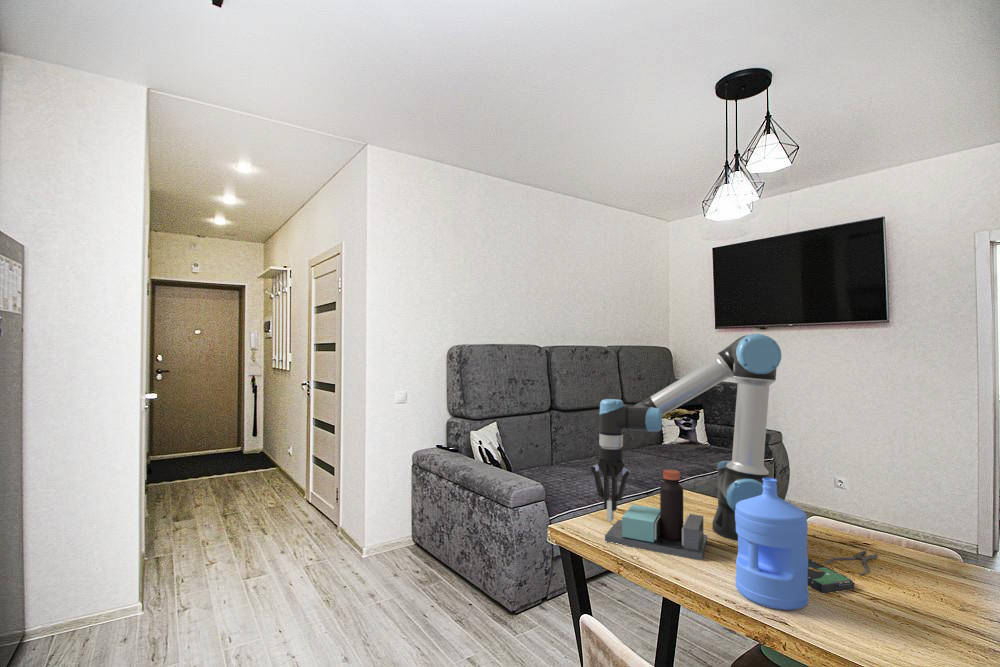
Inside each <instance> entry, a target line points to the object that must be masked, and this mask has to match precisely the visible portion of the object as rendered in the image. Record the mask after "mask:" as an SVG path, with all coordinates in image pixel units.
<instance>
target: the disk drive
mask: <svg viewBox="0 0 1000 667" xmlns="http://www.w3.org/2000/svg"><path fill="white" fill-rule="evenodd" d="M807 570H808V587H809V586H810V588H811V589H813V590H814V589H815V591H816V592H818V591H819V593H820V592H821V593H820V594H822V593H826V594H831V593H830V592H833V593H837V592H836V591H839V592H844V591H843V590H846V591H850V590H849V589H852V590H855V582H854V581H853V580H852V579H851V578H850V577H848V576H847V575H844V574H842V573H839V572H837V571H835V570H833V569H831V568H829V567H827V566H824V565H823V564H820V563H818V562H816V561H814V560H813V559H810V558H808V569H807Z"/></svg>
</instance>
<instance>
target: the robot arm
mask: <svg viewBox="0 0 1000 667" xmlns="http://www.w3.org/2000/svg"><path fill="white" fill-rule="evenodd" d="M781 361H782V350H781V347H780V346H779V344H778V342H777V341H776V340H775V339H774V338H772V337H770V336H768V335H765V334H760V333H751V334H748V335H743V336H741V337H738V338H736V339H735V340H734V341H733V342H732V343H730V344H729V345H728V346H727V347H725V348H724V349H723V350H721V351H719V352H718V353H716V354H715V358H713V359H712V360H710V361H709V362H706V363H705V364H703V365H702V366H700V367H698V368H696V369H695V370H693V371H692V372H690V373H688V374H686V375H685V376H683V377H681V378H680V379H677V380H676V381H674V382H672V383H671V384H669V385H668V386H666V387H665V388H663V389H661V390H659V391H658V392H656V393H655V394H652V395H651V396H650V397H648V398H646V399H644V400H643V401H640V402H637V403H635V405H634V406H626V405H625V404H624V401H623V400H622V399H616V398H606V399H605V398H604V399H602V400H601V401H600V403H599V414H598V415H599V437H598V438H599V441H598V442H599V444H598V445H599V447H598V451H599V452H598V455H599V456H598V462H597V464H595V465H592V466H591V467H590V470H591V472H592V473H593V474H592V475H593V477H594V481H595V486H596V491H597V496H598V497H599V498H602V499H603V509H604V510H606V521H607V522H613V520H614V519H615V518H614V513H615V512H616V510H617V509H618V508H617V507H618V506H617V505H618V501H621V500H622V499H623V497H624V494H625V490H626V486H627V481H628V479H629V478H628V477H629V476H630V474H632V470H630V469H628V468H627V467H625V463H624V461H623V458H624V457H623V456H624V449H623V448H622V447H624V446H623V445H624V433H623V432H624V430H627V431H628V430H629V431H640V432H642V431H643V432H650V433H651V432H660V431H661V430H662V423H663V420H662V418H663V416H665V415H666V414H668V413H670V412H672V411H674V410H675V409H677V408H679V407H680V406H683V405H684V404H685V403H687V402H689V401H691V400H692V399H694V398H696V397H698V396H699V395H701V394H703V393H704V392H707V391H708V390H710V389H712V388H714V387H715V386H718V384H721V383H722V382H724V381H725V380H727V379H730V378H731V379H734V380H735V381H736V383H737V385H736V386H737V389H736V402H735V416H734V427H733V428H734V430H733V441H732V442H733V443H732V453H731V454H732V456H731V460H721V461H719V462H717V463H718V464H717V469H716V472H717V508H716V511H715V513H714V516H713V519H712V522H711V523H712V526H711V527H712V531H713V532H714V533H715V534H717V535H718V536H721V537H724V538H727V539H731V540H736V541H738V534H737V533H736V522H735V510H736V504H737V503H738V502H739V501H742V500H745V499H749V498H752V497H756V496H760V495H762V493H763V487H762V485H763V480H762V478H770V476H769V474H770V471H769V470H768V469H767V468H766V466H765V463H764V462H765V451H766V436H767V435H766V434H767V423H768V409H769V395H770V386H771V385H772V384H774V383H775V382H776V380H777V368H778V367H779V365H780V363H781ZM600 471H601V473H602V474H603V482H602V478H601V474H600ZM620 473H622V478H621V481H620V486H619V490H618V476H619V475H620ZM610 478H611V482H610ZM610 483H611V496H610ZM610 497H611V498H610Z"/></svg>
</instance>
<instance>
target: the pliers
mask: <svg viewBox="0 0 1000 667" xmlns="http://www.w3.org/2000/svg"><path fill="white" fill-rule="evenodd" d="M866 554H867V550H863V551H860V552H858V553H856V554H855V555H853V556H851V557H847V556H846V557H834V558H831V559H827V560H826V561H825V562H824V564H825V565H828V564H829V563H831V562H834V560H835V561H855V560H856V561H857V560H860V561H861V563H862V566H865V567H864V568H866V569H865V571H864V572H860V573H858V576H864V575H863V574H865V575H867V574H868V573H869V572H870V567H869V565H868V563H869V562H870V561H873V560H872V559H874V560H876V559H877V557H878V553H873V554H870V555H866ZM875 558H876V559H875ZM869 560H870V561H869ZM867 572H868V573H867ZM866 573H867V574H866Z"/></svg>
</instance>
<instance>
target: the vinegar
mask: <svg viewBox="0 0 1000 667" xmlns="http://www.w3.org/2000/svg"><path fill="white" fill-rule="evenodd" d="M662 476H663V480H664V481H663V483H661V485H660V486H659V500H660V501H659V502H660V504H659V509H660V534H661V536H662V537H664V538H666V539H670V540H680V539H682V527H683V525H684V488H683V486H682V485H681V484H680V483H679V482H680V480H681V472H680V471H679V470H677V469H664V470H663V472H662Z"/></svg>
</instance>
